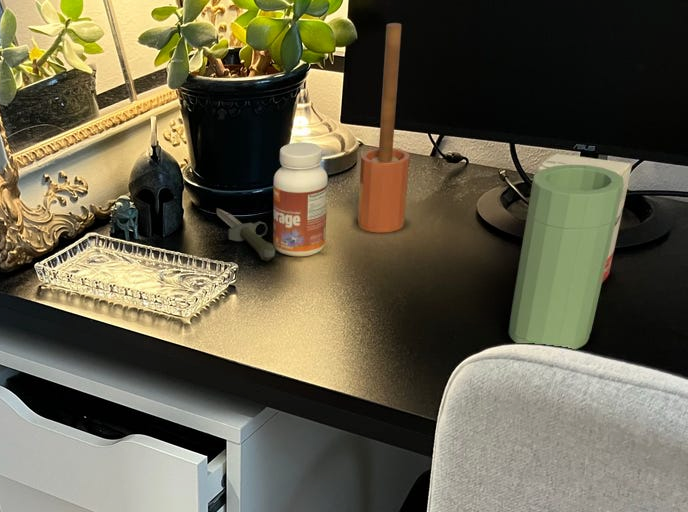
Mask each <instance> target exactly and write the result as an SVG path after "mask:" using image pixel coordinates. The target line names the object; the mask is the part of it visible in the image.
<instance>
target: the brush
mask: <svg viewBox="0 0 688 512" xmlns="http://www.w3.org/2000/svg"><path fill="white" fill-rule="evenodd" d="M385 29H386V30H385V43H384V44H385V45H384V62H383V76H382V95H381V108H380V109H381V110H380V126H379V127H380V128H379V140H378V141H379V144H378V148H379V156H378V157H375V158H373V159H372V161H377V162H393V161H398V158H396V157H393V156H392V152H393V148H394V135H395V124H396V123H395V122H396V107H397V95H398V94H397V93H398V79H399V66H400V54H401V53H400V51H401V38H402V37H401V36H402V24H401V23H399V22H392V23H387V24H386V28H385Z"/></svg>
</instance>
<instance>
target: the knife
mask: <svg viewBox="0 0 688 512" xmlns="http://www.w3.org/2000/svg"><path fill="white" fill-rule="evenodd" d="M216 214H217V216H218V217H219V218H220V219H221V220H222V221H223V222H225V223H226V224H227V226H229V227H230V228H229V229H227V238H228V240H230V241H234V242H244V241H246V243H247V244H248V245H249V246H250V247H251V248H252V249H253V250H254V251H255V252H256V253H257V254H258V256H259V258H260V260H263V261H267V262H269V261H270V260H272V259H273V258H274V257H275V255H276V251H277V250H276V249H275V247H274V243H271V242H268V241H266V240H265V239H263V238H262V237H263V236H265V235H266V234H267V231H268V226H267V223H265V222H263V221H260V220H259V221H256V222H254V223H253V222H245V223H242V222H241V221H240V220H239V219H238V218H236V216H235V215H233V214H232V213H229V212H227V211H225V210H223V209H220V208H218V207H216ZM260 224H261V225H264V227H265V228H264V231H263V233H261V234H257V231H256V229H257V226H259V225H260Z"/></svg>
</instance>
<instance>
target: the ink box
mask: <svg viewBox="0 0 688 512" xmlns="http://www.w3.org/2000/svg"><path fill="white" fill-rule="evenodd" d="M569 164H571V165H589V166H596V167H602V168H605V169H608V170H611V171H614V172H616V173H618V174H619V175H620V176H622V177H623V181H624V186H623V191H622V195H621V199H620V204H619V208H618V213H617V217H616V222H615V226H614V231H613V235H612V240H611V244H610V249H609V253H608V258H607V262H606V267H605V271H604V276H603V280H602V283H604V282H605V280H606V279H607V278H608V276H609V275H610V273H611V272H610V271H611V266H612V262H613V256H614V253H615V248H616V243H617V238H618V234H619V229H620V225H621V220H622V215H623V210H624V207H625V201H626V196H627V192H628V186H629V183H630V181H629V180H630V176H631V172H632V167H633V163H632V162H623V161H616V160H608V159H602V158H601V159H600V158H593V157H586V156H578V155H570V154H565V153H564V154H563V153H553V154H551V155H549V157H547V158H546V159H544V161H543V162H541V163H540V164H539V165H538V166H537V169H536V170H537V171H536V173H537V172H539V171H540V170H542V169H546V168H549V167H552V166H559V165H569Z"/></svg>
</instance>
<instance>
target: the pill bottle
mask: <svg viewBox="0 0 688 512" xmlns="http://www.w3.org/2000/svg"><path fill="white" fill-rule="evenodd" d="M322 161H323V149H322V147H321V146H320V145H319V144H316V143H314V142H313V143H312V142H302V141H301V142H292V143H288V144H285V145H283V146H282V147H281V148H280V150H279V162H280V163H279V164H280V165H281V167H280V168H278V170H277V171H276V172H275V173H274V176H273V245H274V248H275V250H276V251H277V252H278V253H280V254H282V255H285V256H288V257H289V256H291V257H309V256H312V255H315V254H318V253H319V252H321V251H322V250H323V249H324V248H325V245H326V237H327V235H326V232H327V231H326V230H327V212H328V211H327V207H328V206H327V205H328V178H329V177H328V174H327V171H326V170H325V169H324V168H323V167H322V166H320V165H321V164H322Z"/></svg>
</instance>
